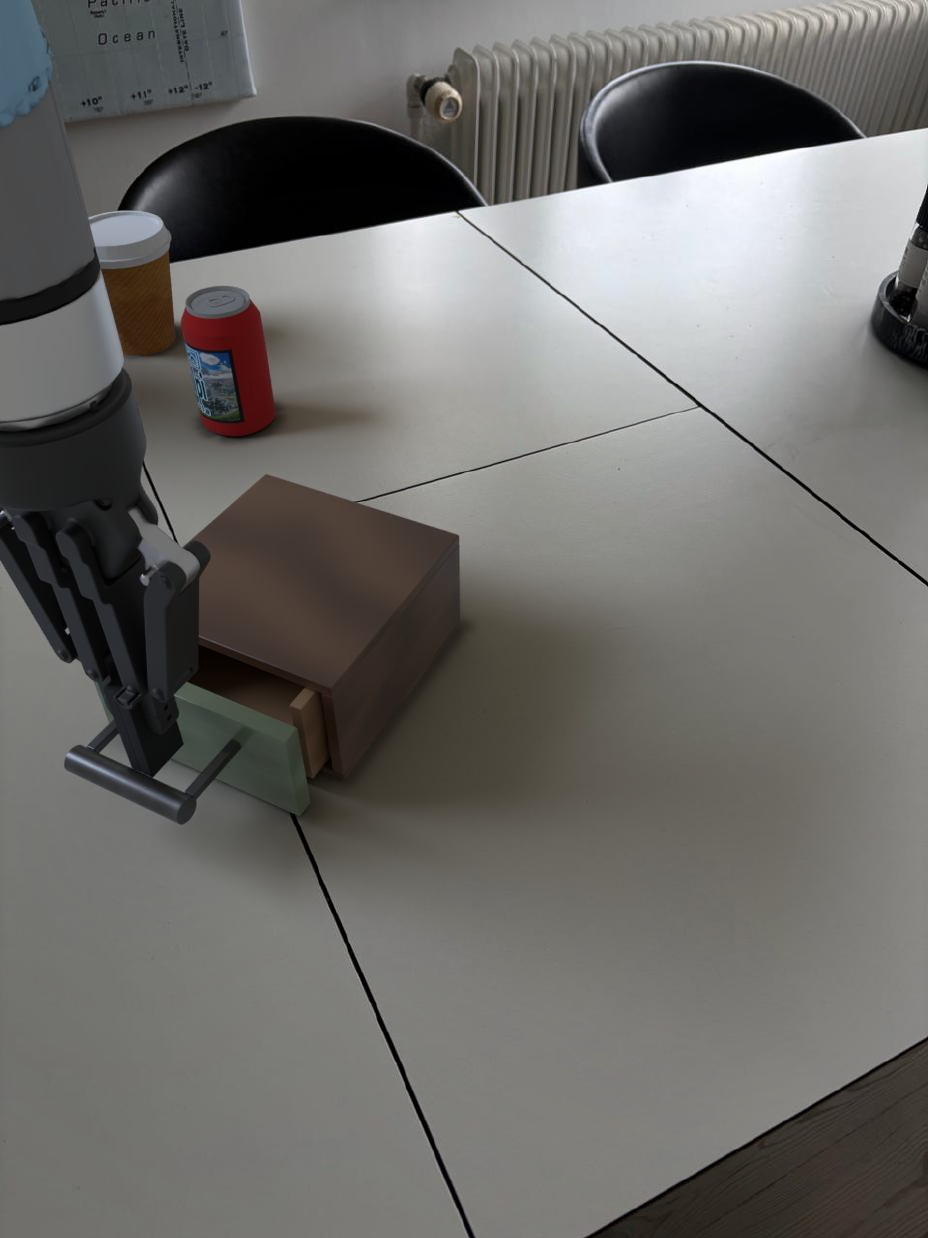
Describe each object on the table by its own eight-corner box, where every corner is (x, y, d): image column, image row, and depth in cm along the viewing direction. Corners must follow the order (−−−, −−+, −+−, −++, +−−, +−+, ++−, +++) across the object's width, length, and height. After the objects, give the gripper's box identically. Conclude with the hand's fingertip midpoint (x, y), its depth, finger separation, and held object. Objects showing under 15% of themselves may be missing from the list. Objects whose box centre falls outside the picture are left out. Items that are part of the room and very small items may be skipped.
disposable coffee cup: (79, 358, 102) (44, 241, 93) (129, 316, 108) (101, 203, 100) (162, 372, 99) (135, 253, 91) (208, 328, 106) (186, 214, 98)
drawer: (240, 894, 55) (219, 821, 51) (45, 798, 60) (10, 723, 56) (419, 660, 69) (415, 586, 64) (247, 597, 74) (232, 523, 69)
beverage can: (189, 420, 93) (162, 297, 85) (252, 395, 96) (232, 274, 88) (226, 451, 89) (201, 325, 81) (291, 425, 92) (273, 301, 84)
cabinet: (344, 783, 62) (331, 688, 56) (147, 698, 67) (116, 603, 62) (460, 628, 72) (459, 534, 66) (281, 565, 78) (265, 473, 72)
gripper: (220, 378, 41) (291, 750, 57) (-14, 313, 45) (114, 675, 61) (92, 473, 36) (210, 850, 52) (-156, 390, 40) (23, 762, 57)
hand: (158, 755), depth 57 cm, fingers closed
